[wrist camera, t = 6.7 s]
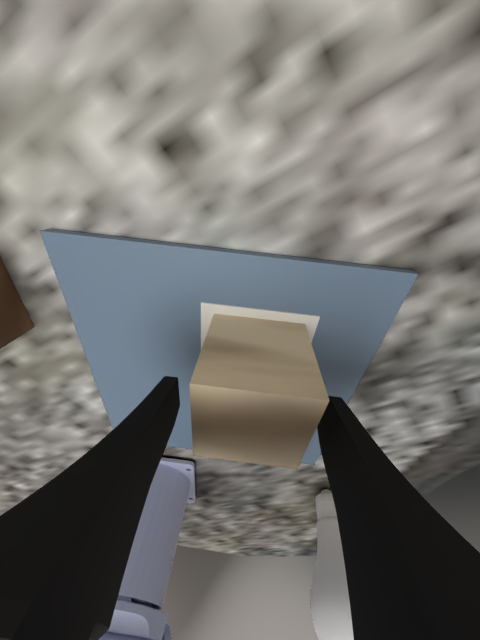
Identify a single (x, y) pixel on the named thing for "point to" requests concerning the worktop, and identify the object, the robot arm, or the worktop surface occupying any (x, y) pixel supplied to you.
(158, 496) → the robot arm
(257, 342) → the maple block
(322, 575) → the lightbulb
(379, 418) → the worktop surface
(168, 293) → the board
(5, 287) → the walnut block
